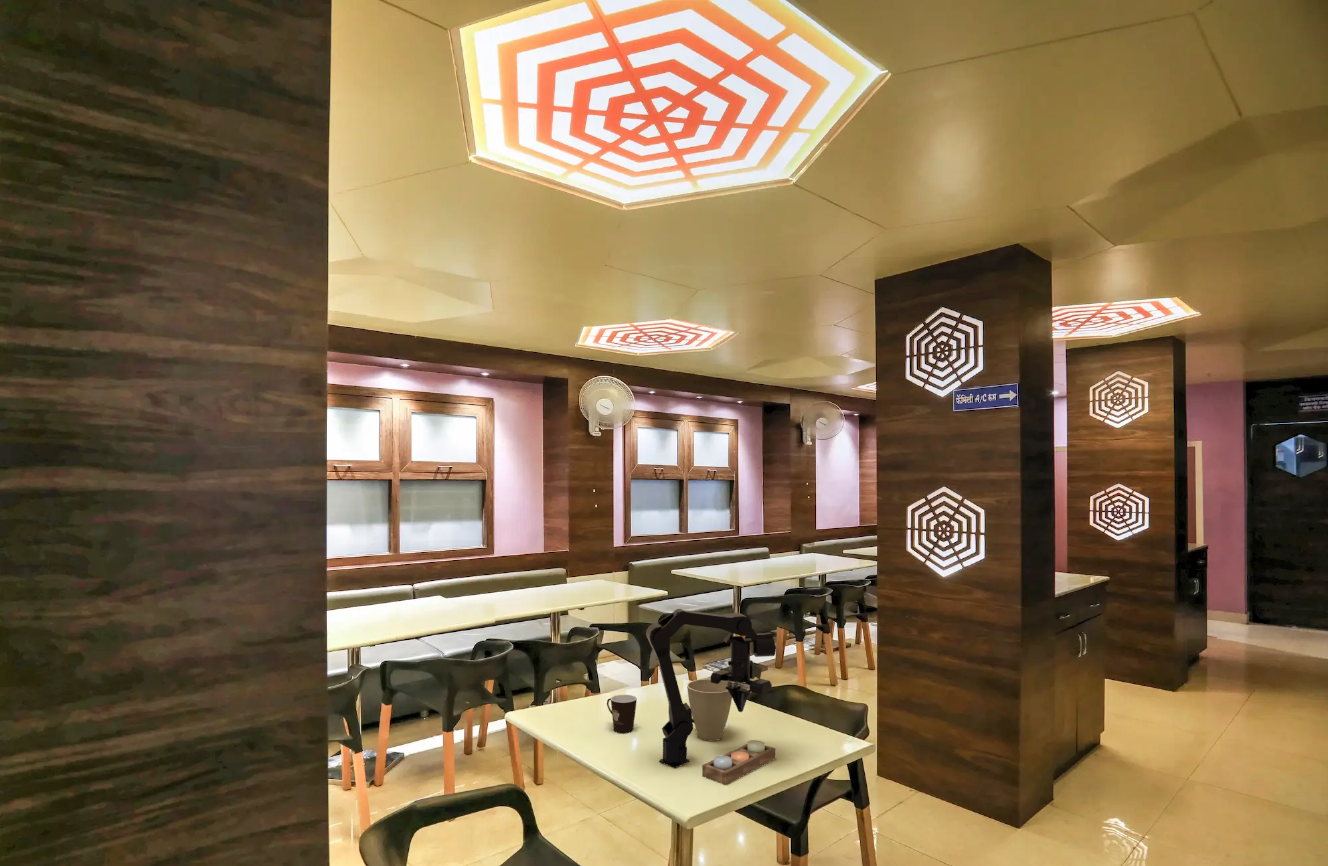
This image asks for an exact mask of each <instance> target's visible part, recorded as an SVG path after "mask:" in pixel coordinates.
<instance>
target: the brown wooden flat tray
mask: <svg viewBox="0 0 1328 866" xmlns="http://www.w3.org/2000/svg"><path fill="white" fill-rule="evenodd" d="M736 751H741V752H746V753H748V754H749V759H747V760H745V761H743V762H741V761H738V760H735V759H732V767H731V768H729V769H727V770H725V771H724V770H721V769H719V768H716V767H714V759H712V760H710V761H708V762H705V763H703V764H702V766H701V767H702V772H701V773H702V774H701V775H702V776H701V777H703V778H705V777H706V778H705V779H708V780H710V779H711V781H713V782H716V781H717V782H716V783H718V784H721V783H722V785H724V786H727V785H728V784H731V783H732V781H733V782H734V780H735V781H736V779H737V780H738V779H740V778H742V777H744V776H745V775H748V774H749V773H752V772H753V770H754V771H755V770H757V769H759V768H761V767H763V766H765V765H767V764H768V762H769V761H771V762H773V761H774V760H776V748H775V747H772V746H768V745H765V751H763V752H761V753H759V754H758V753H754V752H751V751H748V750H747V743H746V744H743V746H740V747H738V748H735V749H733V750H731V751H729V752H727V753H725V754H723V756H728V757H731V753H733V752H736ZM773 759H774V760H773ZM772 760H773V761H772ZM766 763H767V764H766ZM769 763H770V762H769ZM764 764H765V765H764ZM762 765H763V766H762ZM758 767H759V768H758ZM751 771H752V772H751ZM747 773H748V774H747ZM743 775H744V776H743ZM739 777H740V778H739Z"/></svg>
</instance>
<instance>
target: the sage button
mask: <svg viewBox="0 0 1328 866" xmlns="http://www.w3.org/2000/svg"><path fill="white" fill-rule="evenodd" d="M746 744H747V750H748V751H751V752H754V753H758V754H759V753H761V752H763V751H765V742H764V741H763V740H757V739H753V740H752V739H751V740H748V741H747V743H746Z"/></svg>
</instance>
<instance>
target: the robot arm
mask: <svg viewBox="0 0 1328 866" xmlns="http://www.w3.org/2000/svg"><path fill="white" fill-rule="evenodd" d="M683 625H686V626H696V627H702V628H703V627H704V628H711V629H720V630H723V631H726V632H729V633H728V634H727V636H726V637H724V639H723V642H725V643H727V644H730V660H728V661H727V665H728V666H730V671H728V670H723V669H720V670H719V669H718V670H716V671H713V672H712V673H711V674H710V679H711V683H715V684H719V683H720V682H721V680H722V681H726V682H727V687H726V689H727V690H728V691H729V693H730V695H731V696H732V700H733V702H734V705H735V707H736V709H737V711H738V712H739V713H742V712H743V711H744V708H745V706H746V703H747V700H748V698H749V695H750V694H751V693H752V694H756V695H764V694H766V693H769V692H772V691H773V683H772V682H771V680H768V679H764V678H761V676H762V672H763V671H762V670H763V668H762V667H759V666H755V665H754V662H753V660H751V654H753V656H754V657H756V658H759V657H774V656H775V655H776V651H777V646H776V643H775V639H774V634H773V633H771V632H763V633H762V632H759V633H757V632H756V631H755V630H754V628H753V626H752V625H753V624H752V620H751V619H750V618H749V617H748V616H746V615H744V614H742V613H740V612H730V613H729V612H728V613H723V614H716V613H710V612H709V613H708V612H700V611H693V610H686V609H682V608H677V609H675V610H674V611H673V612H672V613H670V614H669V615H666V616H665V617H663V618H661V619H660V620H659V621H658V622H655V623H652V624H650V625H648V627H647V629H646V630H645V631H646V633H645V634H646V635H645V636H646V638H647V639H648V642H649V645H650V647H651V649H652V650H653V653H654V654H655V657H656V659H657V664H658V667H659V672H660V676H661V678H662V679H661V680H662V683H663V687H664V690H665V694H666V698H667V701H668V719H669V720H668V721H667V722H666V723H665V724H664V725H663V727H662V728H661V731H662V734H663V736H664V737H663V738H662V758H661V759H659V760H658V762H659V763H661V764H663V765H666V766H669V767H671V768H674V769H676V768H679V767H681V766H683V765H685V764H687V763H690V759H689V758H688V748H687V740H688V738H689V736H690V735H691V734H692V732H693V731H694V723H695V722H694V720H693V717H692V712H691V708H690V704H688V703H687V702H683V699H682V695H681V691H680V688H679V684H678V680H677V677H676V673H675V670H674V666H673V662H672V657H671V643H670V641H671V640H670V638H671V637H673V636H674V635H675V634H676V633H677V632H678V631H679V630H680V629H681V628H682V627H683ZM733 634H734V635H733ZM744 636H746V637H747V638H744ZM755 678H757V679H755ZM754 679H755V680H754Z"/></svg>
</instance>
